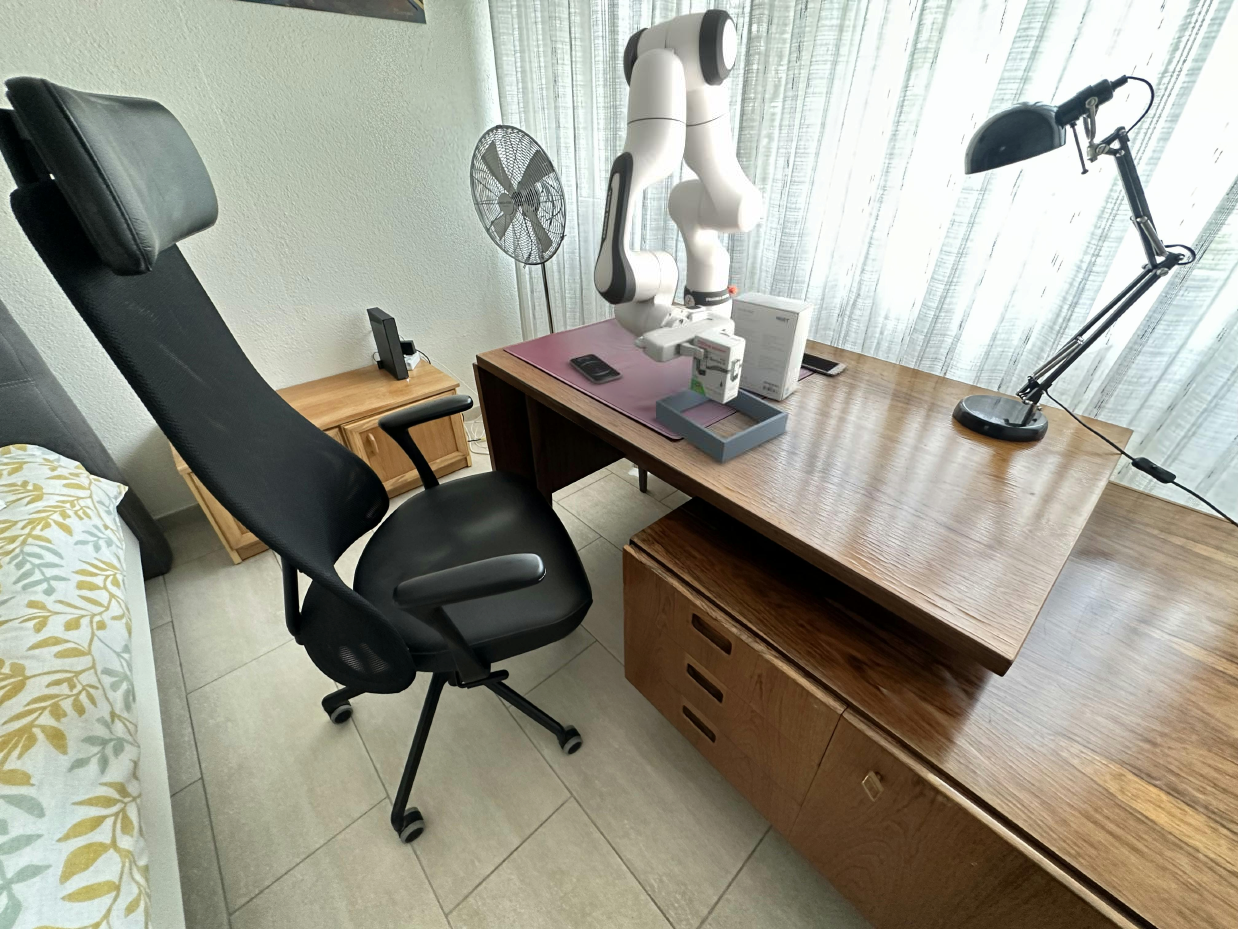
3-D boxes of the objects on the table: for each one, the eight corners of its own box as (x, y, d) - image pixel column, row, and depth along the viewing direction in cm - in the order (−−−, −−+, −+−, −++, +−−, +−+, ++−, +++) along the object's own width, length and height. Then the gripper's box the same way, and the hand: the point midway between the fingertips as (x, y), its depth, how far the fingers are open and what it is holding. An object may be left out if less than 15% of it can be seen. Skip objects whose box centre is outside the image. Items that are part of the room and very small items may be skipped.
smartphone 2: (833, 377, 114) (833, 374, 113) (778, 359, 123) (778, 356, 122) (847, 368, 118) (848, 365, 117) (793, 351, 127) (793, 348, 126)
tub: (715, 395, 108) (717, 377, 105) (784, 432, 95) (788, 412, 92) (655, 419, 100) (655, 400, 97) (721, 463, 87) (724, 442, 84)
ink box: (688, 389, 95) (692, 333, 88) (704, 381, 98) (709, 326, 91) (723, 404, 90) (730, 346, 83) (738, 395, 93) (747, 338, 86)
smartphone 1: (595, 382, 113) (568, 359, 123) (596, 385, 113) (568, 362, 124) (622, 374, 116) (593, 353, 126) (622, 377, 116) (593, 356, 127)
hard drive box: (796, 390, 109) (816, 303, 97) (780, 402, 105) (799, 313, 93) (738, 371, 118) (749, 289, 106) (721, 382, 113) (731, 297, 101)
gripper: (629, 325, 91) (675, 348, 82) (706, 303, 101) (756, 321, 91) (629, 356, 95) (674, 380, 86) (704, 331, 104) (751, 352, 95)
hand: (717, 350), depth 89 cm, fingers closed on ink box, 5 cm apart
